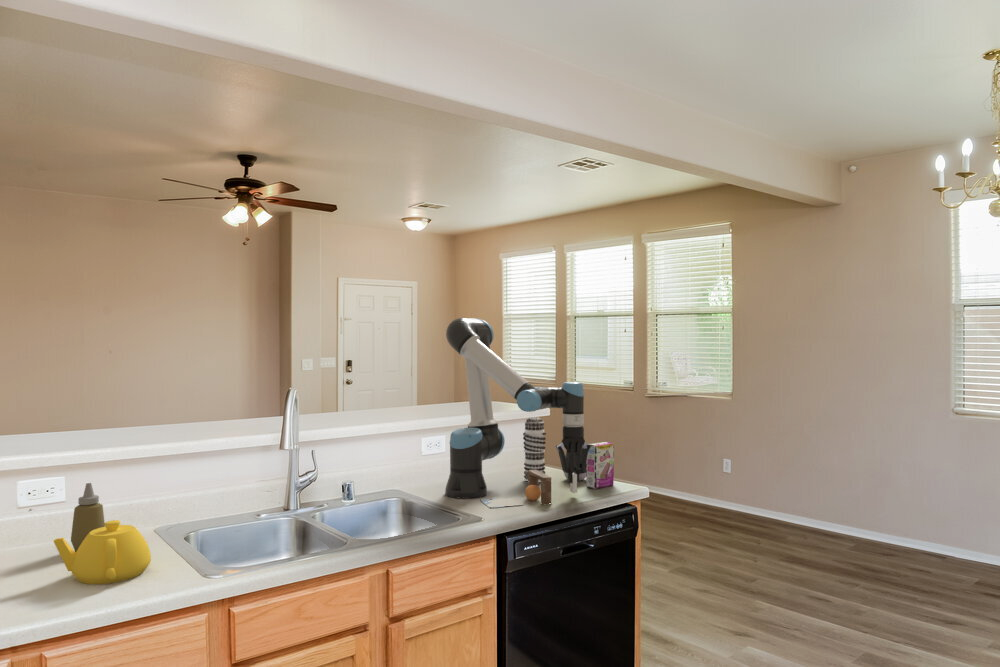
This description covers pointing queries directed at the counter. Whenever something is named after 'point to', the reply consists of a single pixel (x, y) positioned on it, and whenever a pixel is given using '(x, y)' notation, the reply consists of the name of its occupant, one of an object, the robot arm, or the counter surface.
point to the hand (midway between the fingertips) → (573, 491)
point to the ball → (532, 492)
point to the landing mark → (488, 502)
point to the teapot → (107, 554)
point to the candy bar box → (600, 465)
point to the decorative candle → (534, 445)
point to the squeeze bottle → (86, 516)
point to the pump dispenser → (581, 475)
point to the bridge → (545, 484)
